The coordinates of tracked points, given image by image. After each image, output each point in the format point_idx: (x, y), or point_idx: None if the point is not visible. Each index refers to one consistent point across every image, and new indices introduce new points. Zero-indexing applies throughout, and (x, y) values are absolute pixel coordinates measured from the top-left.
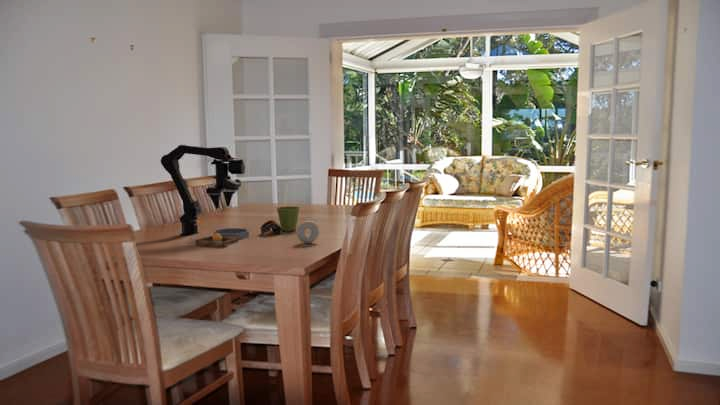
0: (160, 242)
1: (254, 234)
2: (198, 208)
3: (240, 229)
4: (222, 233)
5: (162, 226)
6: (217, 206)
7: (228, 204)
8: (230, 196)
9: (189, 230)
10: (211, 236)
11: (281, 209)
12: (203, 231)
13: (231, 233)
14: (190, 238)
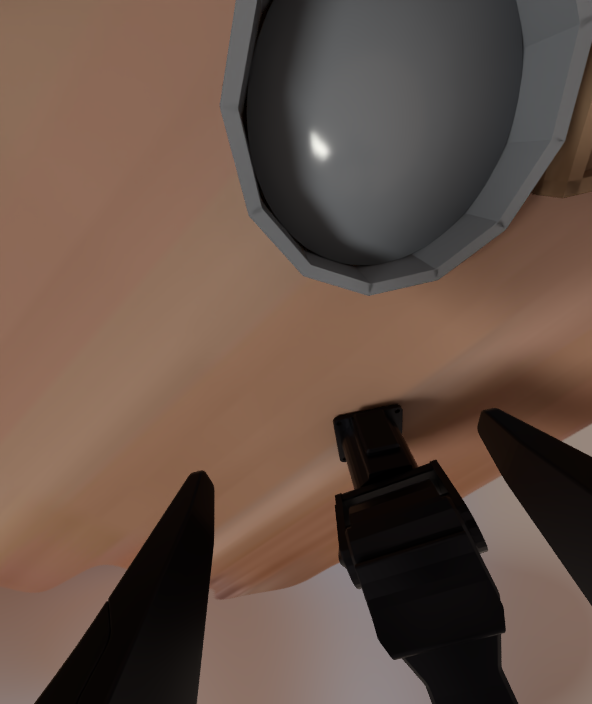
0: (583, 384)
1: (112, 56)
2: (421, 552)
3: (247, 147)
4: (569, 90)
5: (278, 566)
6: (529, 434)
7: (201, 497)
8: (113, 696)
9: (399, 434)
10: (580, 175)
11: None
12: (273, 441)
13: (287, 231)
14: (464, 358)
